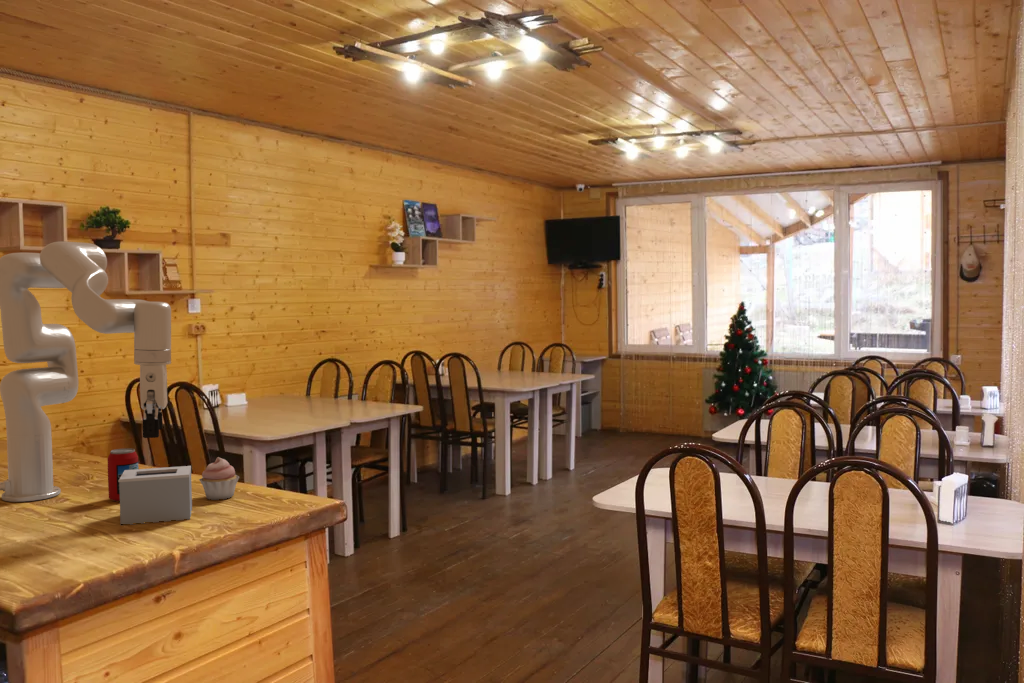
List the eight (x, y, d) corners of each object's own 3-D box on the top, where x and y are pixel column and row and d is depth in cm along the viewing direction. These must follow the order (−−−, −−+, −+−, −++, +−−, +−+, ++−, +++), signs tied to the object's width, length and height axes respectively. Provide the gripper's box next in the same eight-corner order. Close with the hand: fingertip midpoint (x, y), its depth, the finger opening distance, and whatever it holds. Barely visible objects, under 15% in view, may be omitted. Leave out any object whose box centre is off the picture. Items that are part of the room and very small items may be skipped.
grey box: (120, 525, 176) (119, 479, 175) (125, 513, 185) (124, 470, 185) (190, 519, 180) (189, 474, 180) (192, 508, 190) (190, 465, 189)
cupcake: (192, 497, 200) (191, 457, 200) (228, 490, 207) (227, 451, 206) (210, 504, 194) (209, 462, 193) (246, 496, 201) (246, 456, 200)
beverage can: (127, 503, 195) (125, 453, 194) (102, 501, 196) (100, 452, 196) (145, 496, 201) (143, 448, 201) (121, 495, 203) (119, 447, 202)
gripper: (168, 361, 174) (168, 440, 175) (173, 353, 190) (173, 426, 192) (129, 361, 172) (130, 441, 173) (138, 353, 188) (138, 427, 189)
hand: (152, 433), depth 182 cm, fingers open, 9 cm apart
